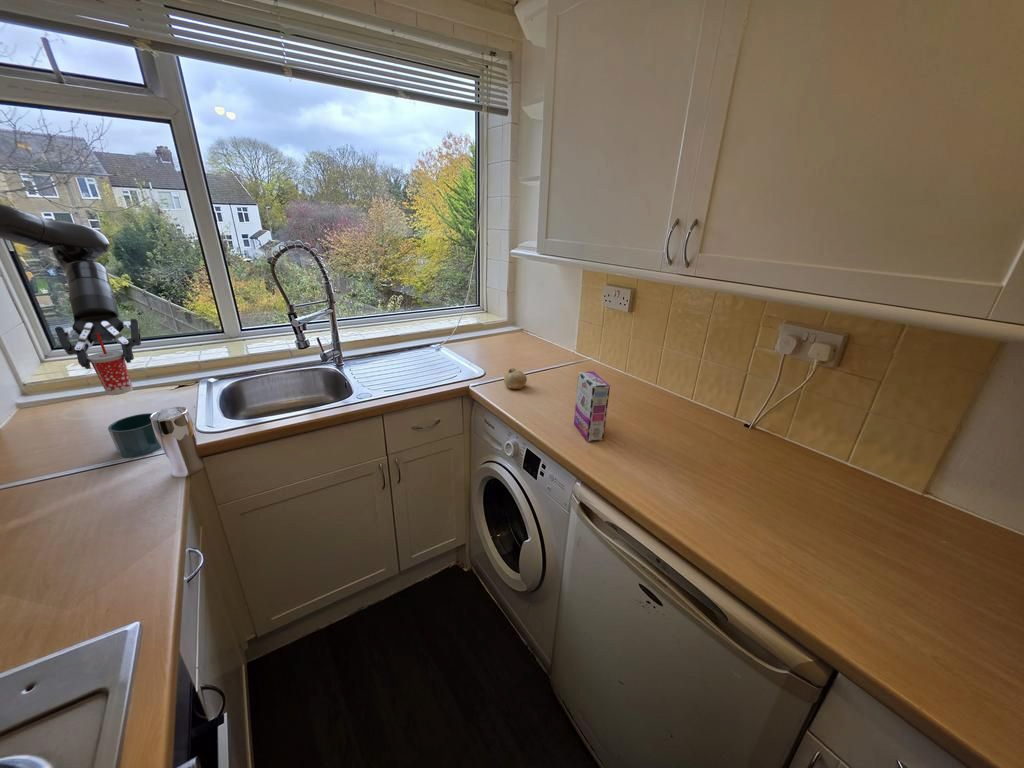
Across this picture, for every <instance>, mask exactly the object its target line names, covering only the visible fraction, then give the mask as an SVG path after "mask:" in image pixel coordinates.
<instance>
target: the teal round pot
mask: <svg viewBox="0 0 1024 768" xmlns="http://www.w3.org/2000/svg"><path fill="white" fill-rule="evenodd" d="M153 413H154V412H153ZM153 413H152V412H148V413H140V414H135V415H130V416H127V417H124V418H121V419H119V420H116V421H114V422H112V423H111V424H110V425H109V426H108V427H107V430H108V432H109V434H110V437H111V439H112V442H113V444H114V447H115V449H116V451H117V453H118V456H120V457H123V458H134V457H140V456H141V457H142V456H146V455H148V454H151V453H154V452H156V451H159V450H161V449H162V448H161V446H160V445H159V443H158V441H157V439H156V437H155V434H154V431H153V428H152V424H151V420H150V416H151V415H152V414H153Z"/></svg>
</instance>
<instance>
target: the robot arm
mask: <svg viewBox="0 0 1024 768" xmlns="http://www.w3.org/2000/svg"><path fill="white" fill-rule="evenodd" d="M0 239H1V240H6V241H8V242H11V243H15V244H19V245H22V246H24V247H25V246H26V247H29V248H33V249H38V250H47V249H51V250H52V251H51V252H52V255H53V257H54V258H55V259H56V261H57V262H58V264H59V266H60V267H61V269H62V270H63V271H64V272H65V275H66V280H67V285H68V300H69V303H70V307H71V313H72V317H73V321H74V322H73V324H72V326H69V327H62V326H56V327H54V332H55V333H56V337H57V338H58V341H59V343H60V346H61V347H62V348H61V349H63V350H64V351H65V353H66V354H67V355H70V356H71V355H76V358H77V363H78V364H79V365H80V367H82V368H84V369H85V370H91V369H92V367H91V366H92V365H91V362H89V360H88V359H87V357H89V354H88V352H89V349H90V348H92V347H93V345H94V343H100V342H99V340H98V337H97V335H96V333H99V335H100V337H101V340H102V342H104V341H106V342H109V341H110V342H111V341H113V340H114V341H116V343H118V345H120V346H121V351H123V355H124V359H125V363H126V364H131V363H132V361H134V357H135V356H134V352H133V348H134V347H136V346H137V347H138V346H141V345H142V340H141V339H142V336H141V325H140V323H139V321H138V319H136V318H132V319H130V320H127V321H126V320H125V321H124V320H122V319H121V317H120V312H119V309H118V303H117V300H116V296H115V293H114V291H113V288H112V286H111V285H112V284H111V282H110V276H109V274H108V270H107V269H106V267H105V266H104V265H103V264H102V263H99V262H97V261H96V260H97V259H99V258H100V257H102V256H104V255H105V254H107V252H108V251H109V250H110V246H111V244H110V242H109V240H108V238H107V237H106V236H105V235H104V234H103V233H101V232H100V231H99V230H97V229H96V228H92V227H90V226H88V225H86V224H81V223H76V222H71V221H64V220H58V219H52V218H45V217H41V216H38V215H36V214H33V213H30V212H27V211H24V210H21V209H18V208H15V207H12V206H10V205H9V206H8V205H5V204H1V203H0ZM124 328H127V329H128V331H130V335H131V336H130V337H131V338H129V339H127V338H126V337H125V336H123V334H122V333H121V332H122V331H123V330H124ZM75 333H76V334H77V335H79V336H78V338H77V340H78V341H77V342H76V344H75V345H73V344H72V342H71V340H70V339H72V337H73V334H75Z"/></svg>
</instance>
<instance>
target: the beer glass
mask: <svg viewBox="0 0 1024 768" xmlns="http://www.w3.org/2000/svg"><path fill="white" fill-rule="evenodd" d="M150 420H151V424H152V428H153V431H154V434H155V437H156V439H157V441H158V443H159V445H160V446H161V449H162V451H163V453H164V455H166V457H167V458H168V460H169V463H170V468H171V476H173V477H175V478H187V477H190V476H193V475H195V474H197V473H199V472H201V471H202V470H203V469H204V468H205V463H204V461H203V460H202V458H201V457H200V454H199V451H198V443H197V433H196V428H195V425H194V421H193V420H192V417H191V414H190V413H189V411H188V408H187V407H184V406H173V407H167V408H163V409H161V410H157V411H155V412H153V414H152V415H151V416H150Z"/></svg>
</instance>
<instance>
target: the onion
mask: <svg viewBox="0 0 1024 768" xmlns="http://www.w3.org/2000/svg"><path fill="white" fill-rule="evenodd" d="M503 382H504V385H505V386H506V387H507V388H509V389H513V390H522V388H523V387H525V385H526V384H527V382H528V378H527V376H526V374H525V373H524V372H523V371H522V370H519V369H516V368H514V367H512V368H509V369H508V370H507V372H506V373H505V375H504V377H503Z"/></svg>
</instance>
